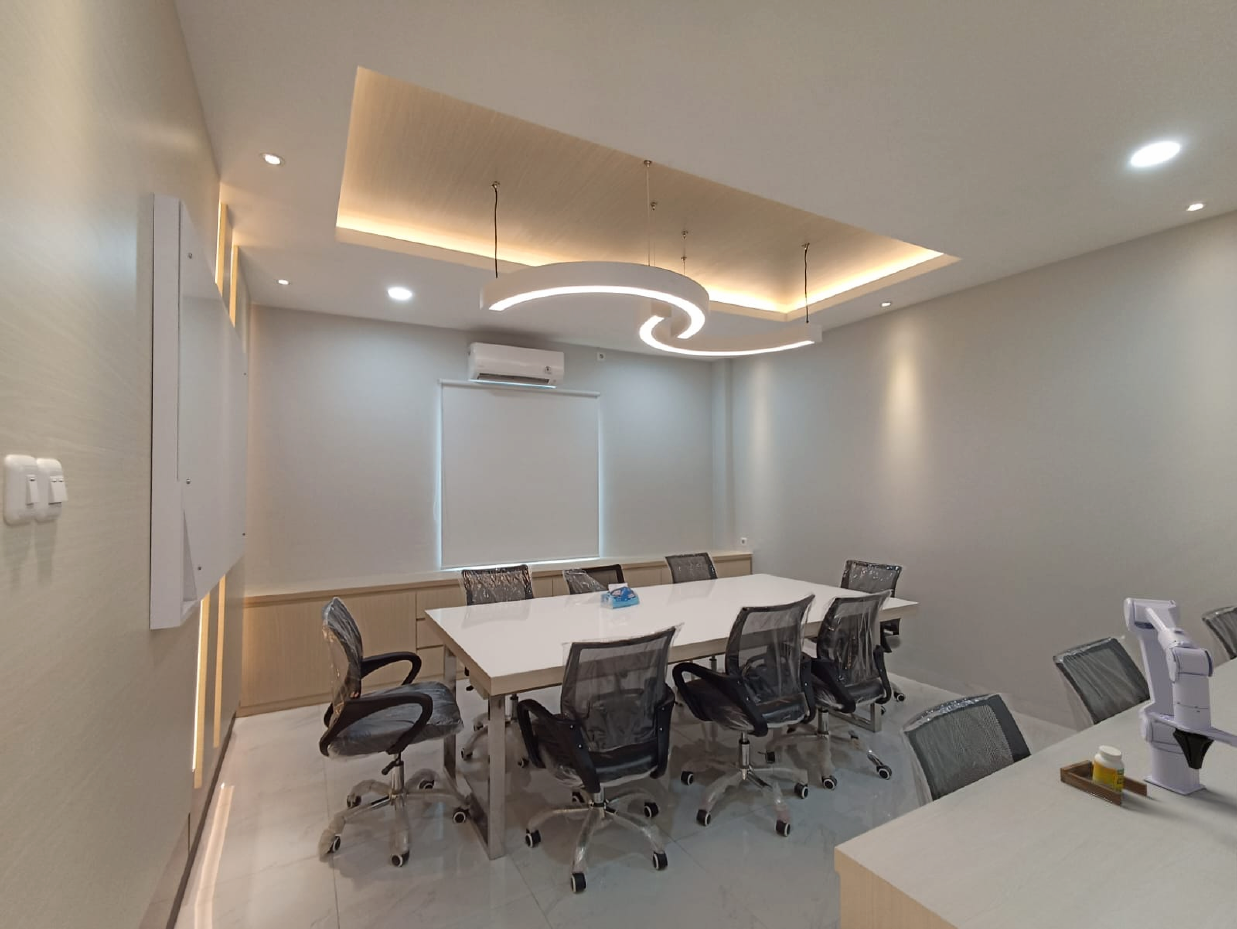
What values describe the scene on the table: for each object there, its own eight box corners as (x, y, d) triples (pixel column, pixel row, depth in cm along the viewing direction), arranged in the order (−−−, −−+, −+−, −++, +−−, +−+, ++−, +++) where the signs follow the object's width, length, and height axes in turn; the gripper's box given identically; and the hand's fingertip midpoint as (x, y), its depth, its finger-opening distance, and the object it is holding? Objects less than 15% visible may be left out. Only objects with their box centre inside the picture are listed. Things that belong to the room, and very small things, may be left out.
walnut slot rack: (1087, 772, 142) (1087, 760, 143) (1147, 795, 131) (1146, 782, 132) (1060, 780, 138) (1060, 768, 138) (1119, 805, 127) (1118, 792, 127)
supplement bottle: (1094, 778, 138) (1098, 740, 137) (1124, 789, 134) (1127, 751, 133) (1089, 787, 134) (1093, 749, 133) (1119, 799, 130) (1123, 760, 129)
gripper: (1140, 695, 129) (1143, 756, 128) (1227, 719, 116) (1231, 787, 115) (1157, 691, 132) (1161, 751, 131) (1244, 713, 118) (1249, 780, 118)
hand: (1195, 767), depth 123 cm, fingers closed
